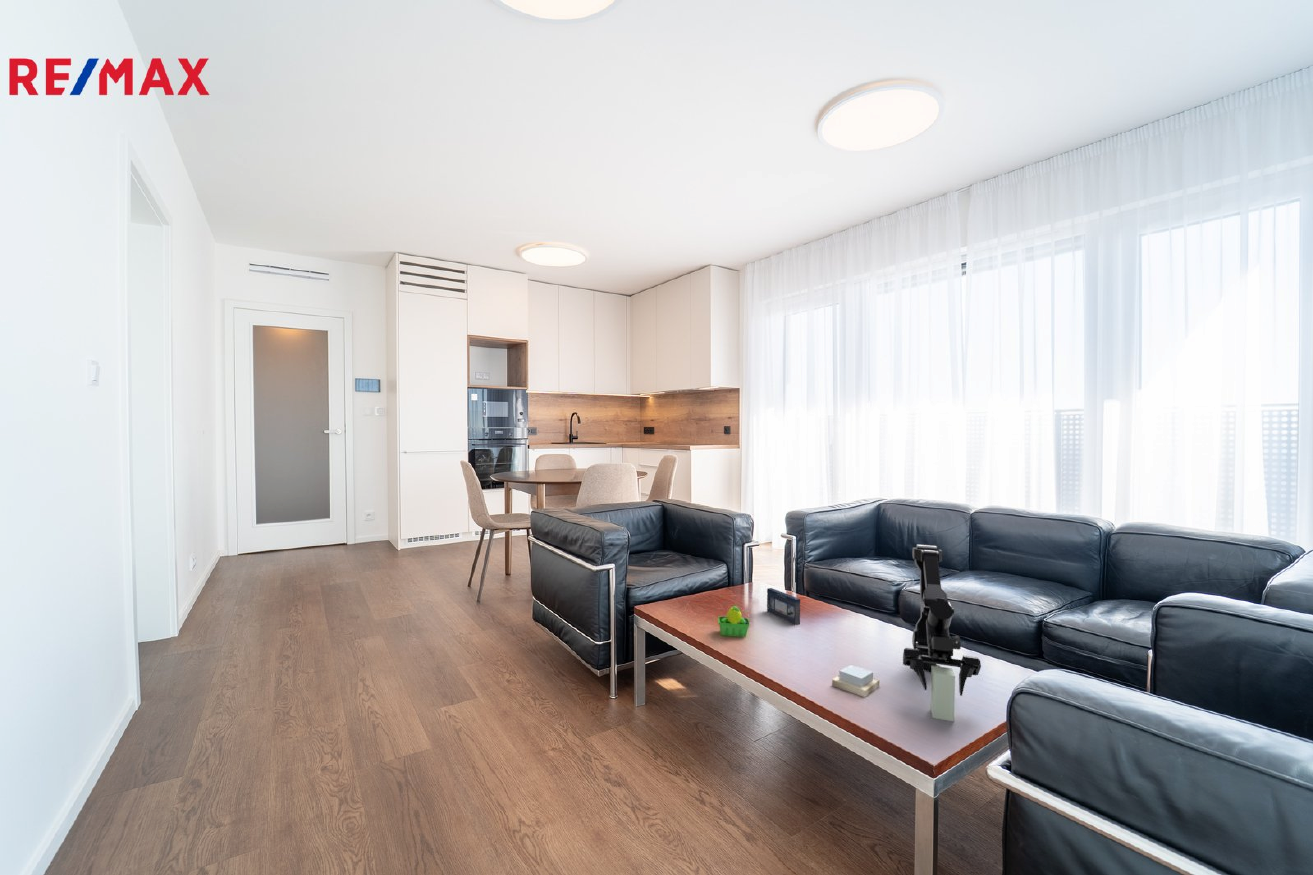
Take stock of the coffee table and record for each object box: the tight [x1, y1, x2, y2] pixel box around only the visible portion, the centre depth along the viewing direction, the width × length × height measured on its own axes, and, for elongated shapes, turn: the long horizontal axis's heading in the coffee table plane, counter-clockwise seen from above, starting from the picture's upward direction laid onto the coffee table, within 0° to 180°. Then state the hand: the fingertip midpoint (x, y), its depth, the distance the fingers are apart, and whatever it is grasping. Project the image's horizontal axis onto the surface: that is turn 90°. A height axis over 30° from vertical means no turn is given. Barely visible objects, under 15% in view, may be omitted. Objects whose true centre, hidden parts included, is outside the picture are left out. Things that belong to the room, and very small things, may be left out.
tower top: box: [838, 664, 874, 687], centre depth 165 cm, size 7×7×2 cm
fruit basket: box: [717, 605, 750, 638], centre depth 207 cm, size 11×9×11 cm
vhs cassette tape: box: [766, 587, 801, 625], centre depth 227 cm, size 18×3×10 cm, turn 25°
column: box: [930, 666, 956, 722], centre depth 148 cm, size 5×5×12 cm
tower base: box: [831, 674, 880, 698], centre depth 165 cm, size 10×10×2 cm
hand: (943, 692), depth 147 cm, fingers open, 8 cm apart
